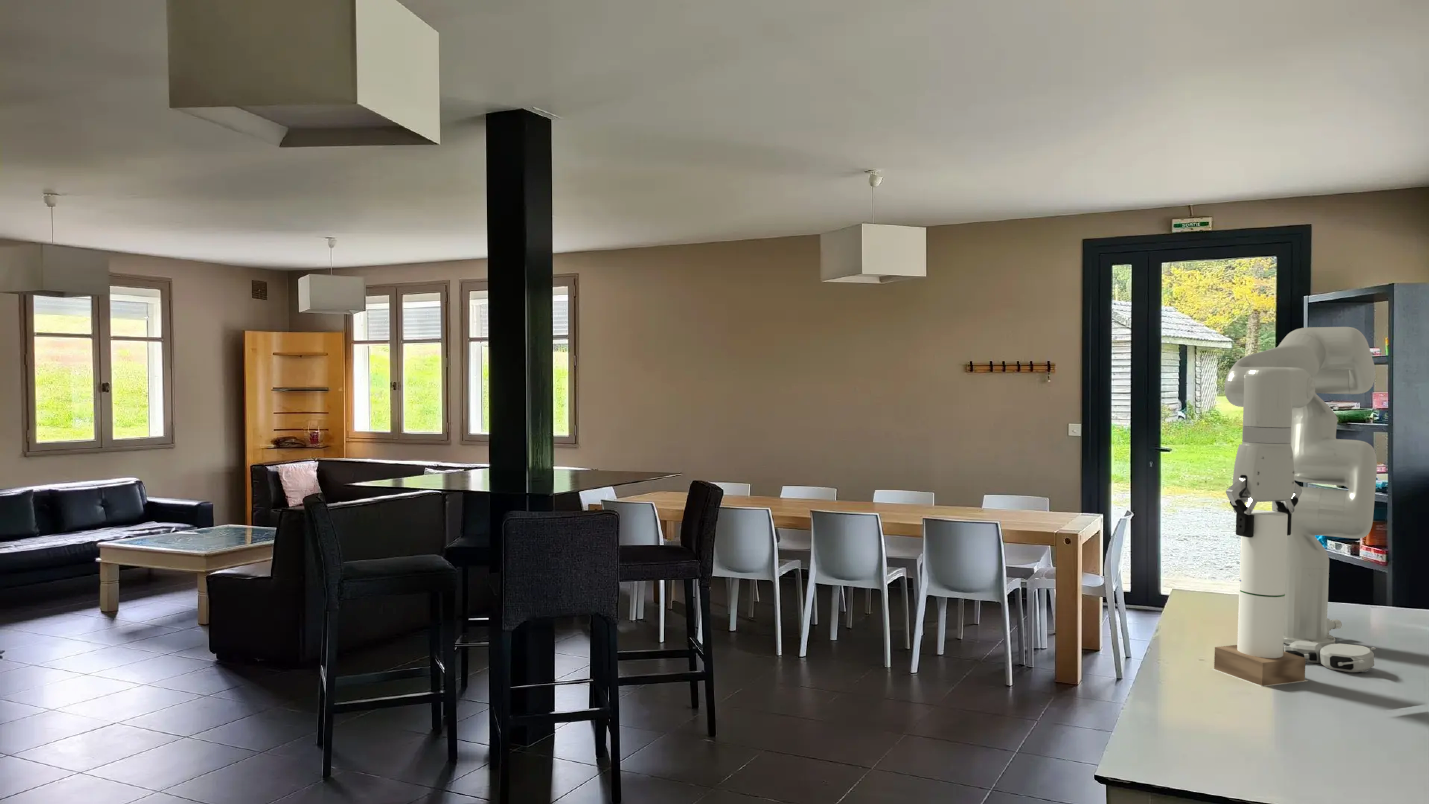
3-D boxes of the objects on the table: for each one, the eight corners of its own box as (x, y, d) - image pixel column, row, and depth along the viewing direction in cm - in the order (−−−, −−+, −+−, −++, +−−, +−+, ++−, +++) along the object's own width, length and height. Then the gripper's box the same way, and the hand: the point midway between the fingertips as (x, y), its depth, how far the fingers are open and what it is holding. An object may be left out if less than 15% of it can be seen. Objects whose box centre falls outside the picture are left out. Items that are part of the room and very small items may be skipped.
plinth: (1255, 664, 179) (1256, 642, 179) (1304, 680, 170) (1305, 658, 170) (1214, 669, 176) (1214, 647, 176) (1262, 685, 167) (1262, 662, 167)
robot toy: (1273, 671, 182) (1368, 683, 172) (1272, 646, 182) (1367, 657, 172) (1289, 657, 191) (1380, 668, 181) (1287, 634, 191) (1379, 644, 181)
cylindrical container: (1278, 649, 175) (1282, 511, 175) (1287, 659, 169) (1291, 516, 168) (1234, 644, 178) (1238, 508, 177) (1241, 655, 171) (1245, 514, 170)
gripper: (1284, 435, 178) (1280, 530, 179) (1211, 436, 172) (1208, 534, 173) (1321, 438, 171) (1318, 536, 172) (1247, 439, 165) (1244, 541, 166)
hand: (1263, 534), depth 172 cm, fingers open, 8 cm apart
